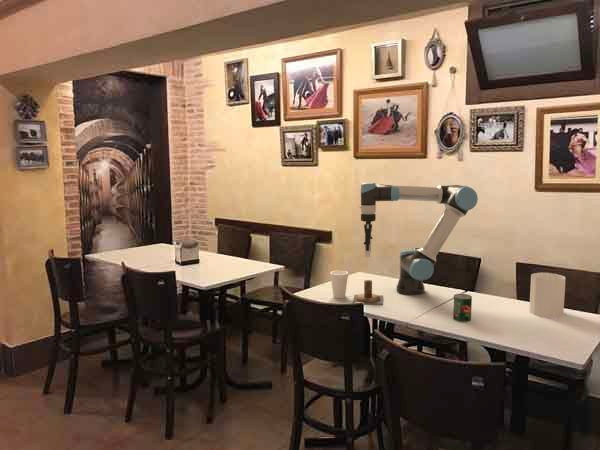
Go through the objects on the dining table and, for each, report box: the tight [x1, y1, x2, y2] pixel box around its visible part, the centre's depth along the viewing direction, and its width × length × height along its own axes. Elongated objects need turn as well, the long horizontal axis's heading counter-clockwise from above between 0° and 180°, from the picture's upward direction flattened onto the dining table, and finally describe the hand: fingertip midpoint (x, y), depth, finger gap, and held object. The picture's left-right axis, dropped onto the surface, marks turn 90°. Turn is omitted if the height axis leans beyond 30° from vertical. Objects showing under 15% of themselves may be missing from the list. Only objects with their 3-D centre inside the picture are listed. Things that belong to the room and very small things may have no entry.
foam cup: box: [329, 270, 349, 299], centre depth 271 cm, size 10×9×13 cm
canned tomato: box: [452, 293, 473, 323], centre depth 232 cm, size 8×8×11 cm
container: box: [529, 272, 566, 319], centre depth 238 cm, size 14×14×18 cm
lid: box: [356, 279, 380, 302], centre depth 264 cm, size 12×12×10 cm
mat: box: [352, 294, 384, 306], centre depth 264 cm, size 15×15×1 cm
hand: (368, 254), depth 261 cm, fingers open, 13 cm apart
